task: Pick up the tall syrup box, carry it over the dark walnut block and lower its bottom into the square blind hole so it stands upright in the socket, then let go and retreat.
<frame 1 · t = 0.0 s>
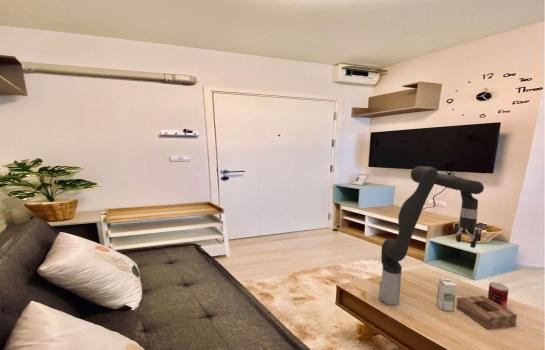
hand: (465, 244, 143), 29 cm above the table, fingers open, 8 cm apart
walnut block: (484, 316, 127), on the table
syrup box: (444, 308, 133), on the table
canned food: (496, 305, 136), on the table
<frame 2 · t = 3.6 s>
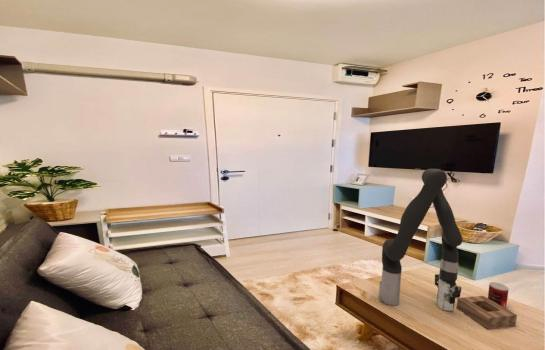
hand: (445, 299, 132), 5 cm above the table, fingers closed on syrup box, 6 cm apart
syrup box: (444, 308, 133), on the table, touching gripper
everything else where it was.
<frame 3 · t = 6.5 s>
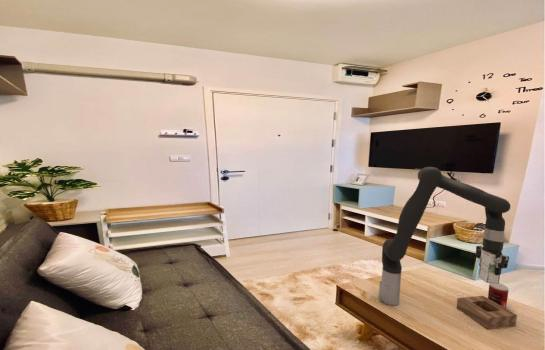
hand: (489, 271, 124), 23 cm above the table, fingers closed on syrup box, 6 cm apart
syrup box: (488, 281, 125), point 18 cm above the table, touching gripper
everything else where it was.
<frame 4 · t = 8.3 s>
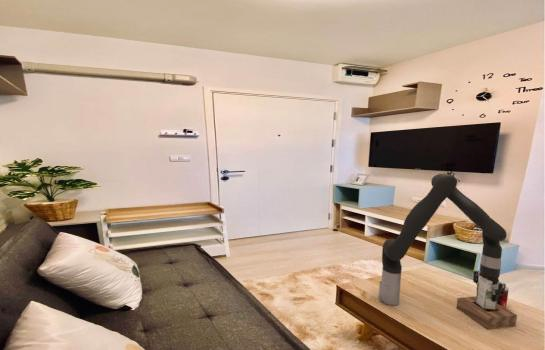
hand: (486, 297, 126), 10 cm above the table, fingers closed on syrup box, 6 cm apart
syrup box: (485, 306, 126), point 5 cm above the table, touching gripper
everything else where it was.
when the fingers open (7 cm above the table, at t = 9.8 s): syrup box drops 1 cm, resting on walnut block.
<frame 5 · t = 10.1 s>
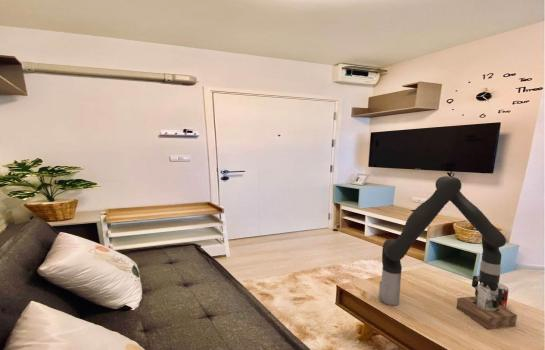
hand: (486, 302, 126), 8 cm above the table, fingers open, 8 cm apart
syrup box: (484, 315, 126), point 1 cm above the table, touching walnut block
everything else where it was.
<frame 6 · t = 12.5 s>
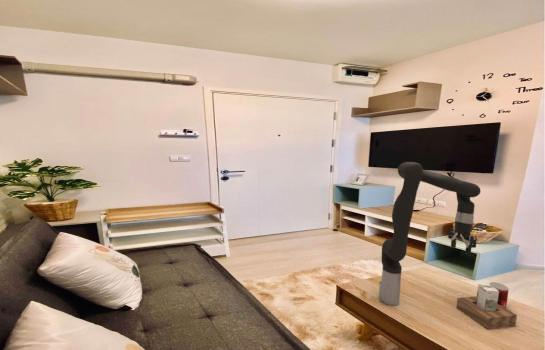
hand: (460, 250, 135), 29 cm above the table, fingers open, 8 cm apart
nothing on the table moved.
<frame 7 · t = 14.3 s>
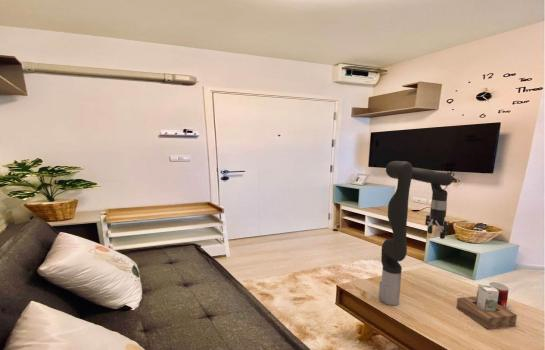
hand: (435, 236, 145), 33 cm above the table, fingers open, 8 cm apart
nothing on the table moved.
at the end: syrup box 0.2 cm off-centre on the walnut block, point 0.8 cm above the walnut block's base; syrup box tilted 0°; the gripper is holding nothing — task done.
